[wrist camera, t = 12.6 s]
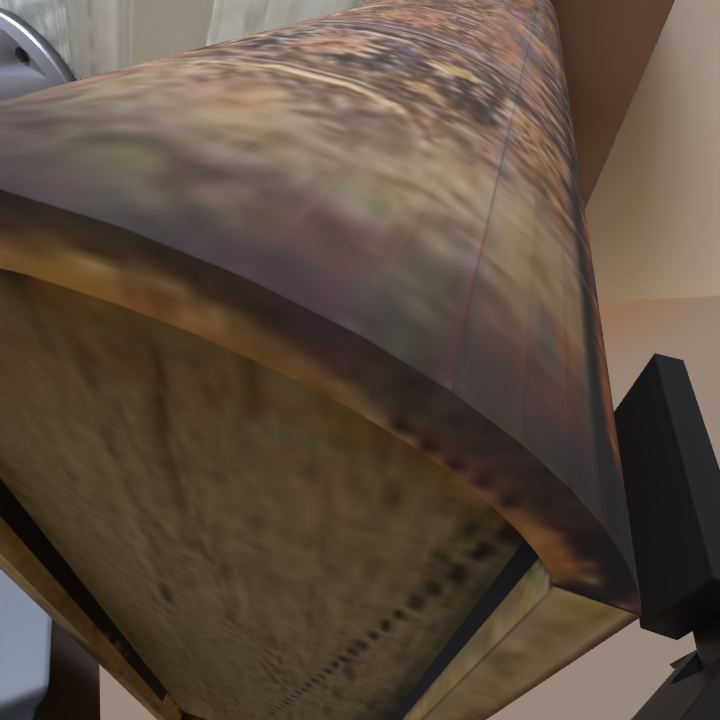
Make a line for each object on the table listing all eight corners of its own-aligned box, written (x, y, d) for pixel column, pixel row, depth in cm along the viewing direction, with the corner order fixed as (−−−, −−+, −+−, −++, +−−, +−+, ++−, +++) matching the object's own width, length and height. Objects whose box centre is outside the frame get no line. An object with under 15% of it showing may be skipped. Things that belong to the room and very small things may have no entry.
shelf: (397, 231, 42) (357, 303, 33) (440, -71, 28) (392, -83, 19) (531, 260, 40) (526, 345, 31) (648, -50, 26) (697, -53, 17)
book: (441, -35, 20) (-544, 49, 2) (570, -16, 19) (921, 433, 1) (387, 283, 31) (167, 730, 13) (467, 304, 30) (349, 811, 12)
